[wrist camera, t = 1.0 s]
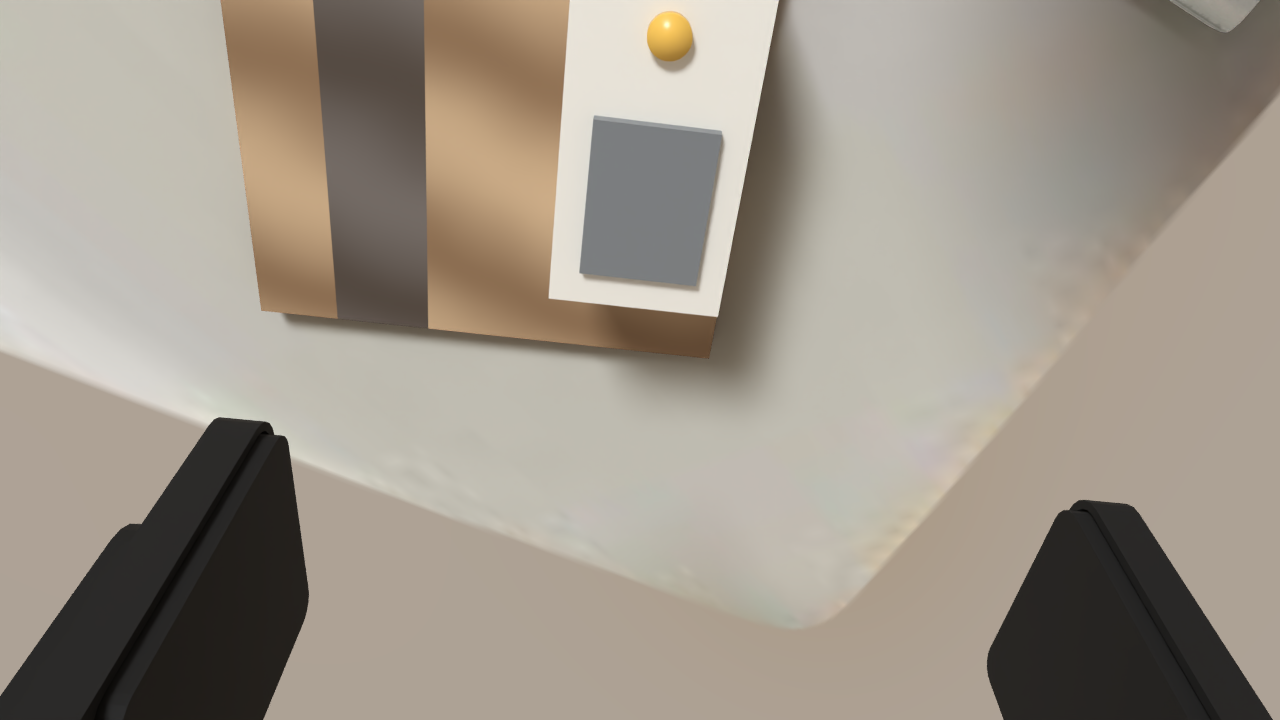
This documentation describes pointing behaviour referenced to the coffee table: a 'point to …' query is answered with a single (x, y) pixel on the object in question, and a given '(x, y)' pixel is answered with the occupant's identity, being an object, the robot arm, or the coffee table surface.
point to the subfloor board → (416, 168)
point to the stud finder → (655, 148)
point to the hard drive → (1218, 11)
